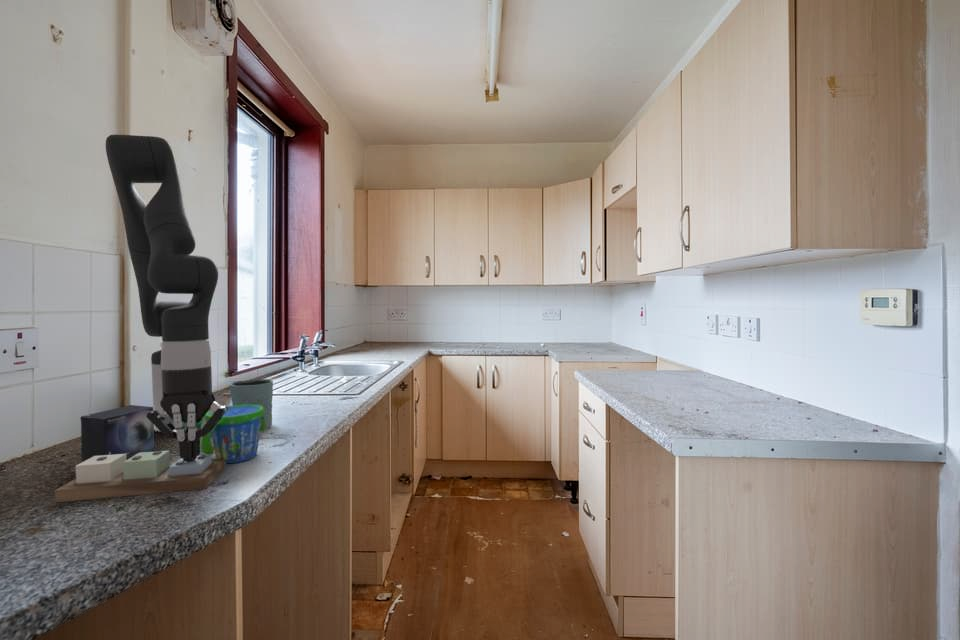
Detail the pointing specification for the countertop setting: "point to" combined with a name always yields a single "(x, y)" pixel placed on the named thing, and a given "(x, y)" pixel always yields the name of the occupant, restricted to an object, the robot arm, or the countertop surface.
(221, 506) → the countertop surface
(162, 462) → the tile two
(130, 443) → the small box
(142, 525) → the countertop surface
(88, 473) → the tile one
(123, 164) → the robot arm
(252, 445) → the snack cup
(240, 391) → the grey green plant pot
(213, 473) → the board
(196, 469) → the tile three
